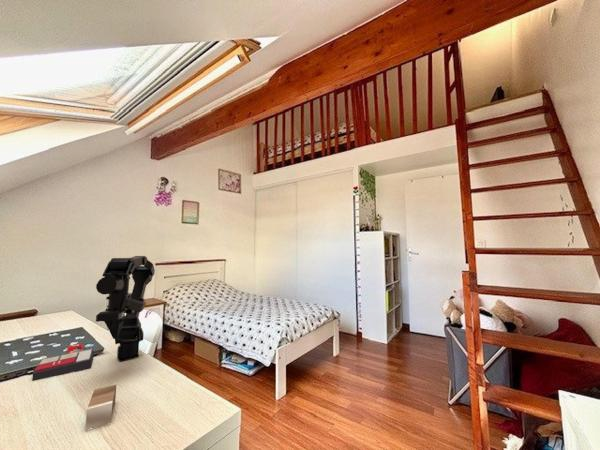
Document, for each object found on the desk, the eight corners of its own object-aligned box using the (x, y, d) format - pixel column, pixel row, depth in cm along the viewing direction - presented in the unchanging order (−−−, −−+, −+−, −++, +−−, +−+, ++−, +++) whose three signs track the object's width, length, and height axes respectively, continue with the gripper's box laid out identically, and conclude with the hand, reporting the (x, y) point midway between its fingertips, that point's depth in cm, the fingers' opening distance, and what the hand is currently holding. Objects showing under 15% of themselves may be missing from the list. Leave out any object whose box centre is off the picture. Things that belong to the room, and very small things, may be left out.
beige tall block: (94, 389, 70) (86, 409, 61) (116, 384, 72) (112, 402, 64) (93, 408, 70) (85, 430, 61) (115, 402, 72) (110, 423, 64)
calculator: (40, 358, 92) (93, 347, 101) (40, 370, 92) (93, 358, 101) (32, 370, 83) (90, 357, 92) (31, 384, 83) (90, 369, 92)
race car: (84, 359, 100) (85, 349, 100) (65, 363, 96) (66, 353, 96) (83, 349, 109) (83, 339, 110) (66, 352, 106) (66, 343, 106)
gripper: (137, 292, 85) (133, 341, 82) (150, 289, 102) (148, 330, 99) (97, 295, 81) (92, 346, 78) (118, 292, 98) (114, 334, 95)
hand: (115, 338), depth 88 cm, fingers closed
